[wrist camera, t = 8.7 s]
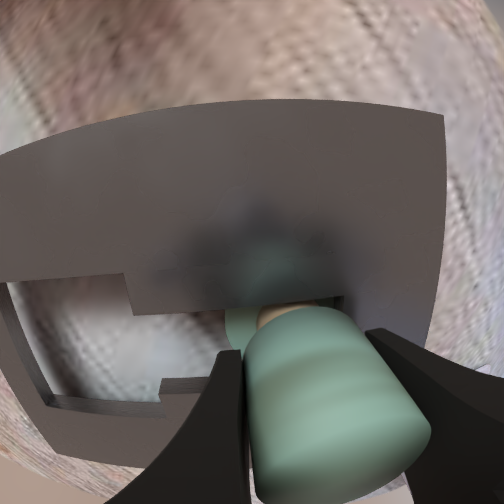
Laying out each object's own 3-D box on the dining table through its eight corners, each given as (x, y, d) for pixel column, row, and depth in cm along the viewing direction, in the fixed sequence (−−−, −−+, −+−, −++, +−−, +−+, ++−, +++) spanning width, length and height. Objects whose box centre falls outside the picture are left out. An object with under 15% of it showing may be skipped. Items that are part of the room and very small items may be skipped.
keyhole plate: (375, 406, 15) (392, 436, 12) (69, 423, 14) (56, 452, 11) (403, 121, 10) (443, 115, 8) (-17, 175, 9) (-54, 181, 7)
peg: (334, 350, 13) (407, 486, 5) (228, 361, 13) (238, 524, 5) (344, 249, 12) (480, 364, 4) (220, 256, 11) (215, 425, 4)
